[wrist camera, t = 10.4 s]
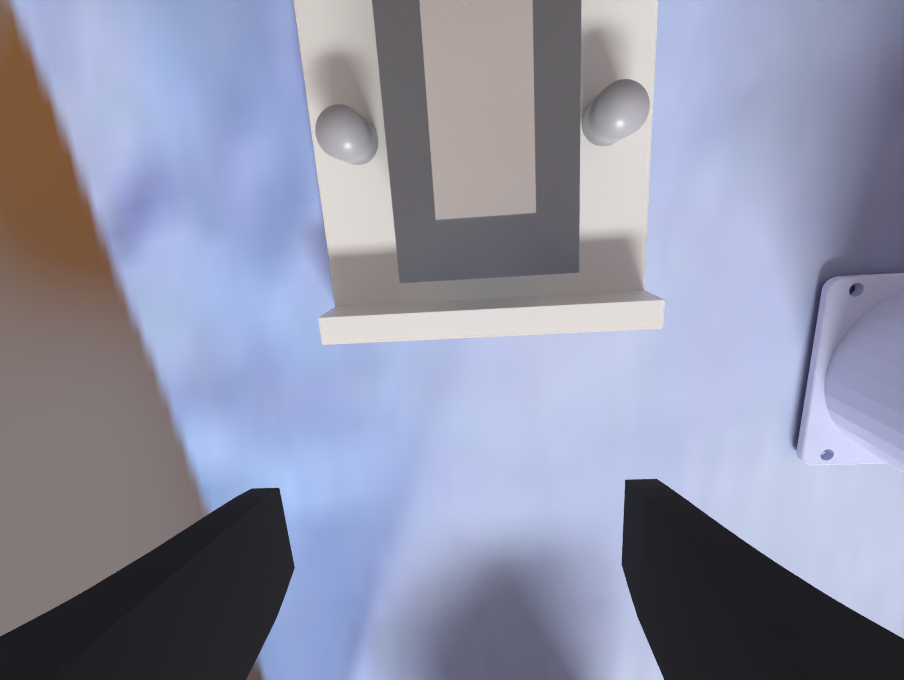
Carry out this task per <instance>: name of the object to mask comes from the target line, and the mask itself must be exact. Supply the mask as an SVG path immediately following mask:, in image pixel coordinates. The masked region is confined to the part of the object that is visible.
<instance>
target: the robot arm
mask: <svg viewBox="0 0 904 680" xmlns="http://www.w3.org/2000/svg"><path fill="white" fill-rule="evenodd" d="M853 284H855V287H856V288H855V290H854V292H853V293H851V294H849V289H850V287H851V286H852V285H853ZM824 450H827V451H826V453H825V454H823V455H821V453H822V452H823V451H824ZM797 456H798V458H799V459H800V460H801V461H803V462H804V463H806V464H807V465H840V464H879V463H887V464H889V465H891V466H892V467H894V468H896V469H897V470H899V471H901V472H902V473H904V273H888V274H870V275H851V276H836V277H832V278H831V279H829V280H827V281H826V283H825V284H824V285H823V288H822V292H821V298H820V305H819V311H818V317H817V324H816V330H815V337H814V343H813V349H812V356H811V362H810V369H809V375H808V381H807V388H806V394H805V400H804V407H803V413H802V420H801V426H800V432H799V439H798V445H797ZM622 567H623V570H624V574H625V577H626V581H627V584H628V588H629V591H630V594H631V597H632V601H633V604H634V607H635V610H636V613H637V616H638V619H639V621H640V624H641V626H642V628H643V631H644V633H645V635H646V638H647V640H648V643H649V645H650V647H651V650H652V652H653V654H654V657H655V659H656V661H657V664H658V666H659V668H660V670H661V673H662V675H663V677H664V680H904V639H903V638H901V637H899V636H898V635H896V634H894V633H892V632H890V631H889V630H887V629H885V628H883V627H882V626H880V625H878V624H876V623H875V622H873V621H871V620H869V619H867V618H866V617H864V616H862V615H860V614H859V613H857V612H855V611H853V610H851V609H850V608H848V607H846V606H845V605H843V604H841V603H840V602H838V601H836V600H835V599H833V598H831V597H830V596H828V595H826V594H825V593H823V592H821V591H820V590H818V589H817V588H815V587H813V586H812V585H810V584H809V583H807V582H806V581H804V580H802V579H801V578H799V577H798V576H796V575H795V574H793V573H791V572H790V571H788V570H787V569H785V568H784V567H782V566H780V565H779V564H777V563H776V562H774V561H773V560H771V559H770V558H768V557H767V556H765V555H764V554H762V553H761V552H759V551H758V550H756V549H755V548H753V547H752V546H751V545H749V544H748V543H746V542H745V541H743V540H742V539H740V538H739V537H738V536H736V535H735V534H733V533H732V532H730V531H729V530H728V529H726V528H725V527H723V526H722V525H721V524H719V523H718V522H716V521H715V520H714V519H712V518H711V517H709V516H708V515H707V514H705V513H704V512H703V511H701V510H700V509H698V508H697V507H696V506H694V505H693V504H692V503H690V502H689V501H687V500H686V499H685V498H683V497H682V496H681V495H679V494H678V493H676V492H675V491H674V490H672V489H671V488H669V487H668V486H666V485H665V484H664V483H662V482H660V481H659V480H657V479H638V480H625V500H624V523H623V546H622ZM294 568H295V567H294V562H293V557H292V552H291V547H290V541H289V536H288V531H287V526H286V521H285V515H284V510H283V505H282V500H281V495H280V489H279V488H257V489H250V490H248V491H246V492H244V493H243V494H241V495H239V496H237V497H236V498H234V499H232V500H231V501H229V502H227V503H226V504H224V505H223V506H221V507H219V508H218V509H216V510H215V511H213V512H211V513H210V514H208V515H207V516H205V517H204V518H202V519H201V520H199V521H197V522H196V523H194V524H193V525H191V526H190V527H188V528H187V529H185V530H183V531H182V532H180V533H179V534H177V535H176V536H174V537H173V538H171V539H169V540H168V541H166V542H165V543H163V544H162V545H160V546H159V547H157V548H156V549H154V550H152V551H151V552H149V553H147V554H146V555H144V556H142V557H141V558H139V559H137V560H136V561H134V562H132V563H131V564H129V565H127V566H126V567H125V568H122V569H121V570H119V571H117V572H116V573H114V574H113V575H111V576H109V577H108V578H106V579H104V580H103V581H101V582H99V583H98V584H96V585H94V586H93V587H91V588H89V589H88V590H86V591H84V592H82V593H81V594H79V595H77V596H75V597H74V598H72V599H70V600H68V601H67V602H64V603H63V604H61V605H59V606H57V607H55V608H54V609H52V610H50V611H48V612H46V613H44V614H42V615H40V616H39V617H37V618H35V619H33V620H31V621H29V622H27V623H26V624H23V625H21V626H20V627H18V628H16V629H14V630H12V631H10V632H8V633H6V634H4V635H3V636H0V680H246V678H247V676H248V674H249V672H250V670H251V668H252V667H253V665H254V663H255V661H256V659H257V657H258V655H259V653H260V651H261V648H262V646H263V644H264V642H265V640H266V638H267V636H268V634H269V632H270V630H271V628H272V626H273V624H274V622H275V620H276V618H277V615H278V613H279V610H280V607H281V605H282V602H283V599H284V597H285V594H286V591H287V588H288V585H289V582H290V580H291V577H292V574H293V571H294Z"/></svg>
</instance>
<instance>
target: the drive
mask: <svg viewBox="0 0 904 680" xmlns="http://www.w3.org/2000/svg"><path fill="white" fill-rule="evenodd" d="M372 6H373V16H374V26H375V36H376V46H377V57H378V67H379V77H380V87H381V97H382V107H383V118H384V128H385V138H386V148H387V158H388V168H389V178H390V189H391V199H392V209H393V219H394V229H395V239H396V249H397V260H398V270H399V280H400V283H412V282H429V281H446V280H463V279H480V278H497V277H514V276H531V275H548V274H565V273H579V229H580V114H581V0H372Z"/></svg>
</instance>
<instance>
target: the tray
mask: <svg viewBox="0 0 904 680" xmlns="http://www.w3.org/2000/svg"><path fill="white" fill-rule="evenodd" d="M294 7H295V15H296V22H297V29H298V37H299V44H300V51H301V59H302V66H303V73H304V80H305V88H306V95H307V102H308V110H309V117H310V124H311V132H312V139H313V146H314V153H315V161H316V168H317V175H318V183H319V190H320V197H321V205H322V212H323V219H324V226H325V234H326V241H327V248H328V256H329V263H330V270H331V278H332V285H333V292H334V299H335V307H334V308H333V309H331V310H330V311H328V312H327V313H325V314H324V315H322V316H320V317H319V318H318V320H319V326H320V333H321V340H322V345H329V344H350V343H371V342H392V341H413V340H434V339H455V338H476V337H497V336H518V335H539V334H560V333H581V332H602V331H624V330H645V329H663V321H664V305H665V300H664V299H662V298H660V297H657V296H655V295H653V294H651V293H649V292H647V291H644V277H645V257H646V237H647V217H648V197H649V177H650V156H651V136H652V116H653V96H654V76H655V56H656V36H657V16H658V0H581V114H580V229H579V273H565V274H548V275H531V276H514V277H497V278H480V279H463V280H446V281H429V282H412V283H400V280H399V270H398V260H397V249H396V239H395V229H394V219H393V209H392V199H391V189H390V178H389V168H388V158H387V148H386V138H385V128H384V118H383V107H382V97H381V87H380V77H379V67H378V57H377V46H376V36H375V26H374V16H373V6H372V0H294Z"/></svg>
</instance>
